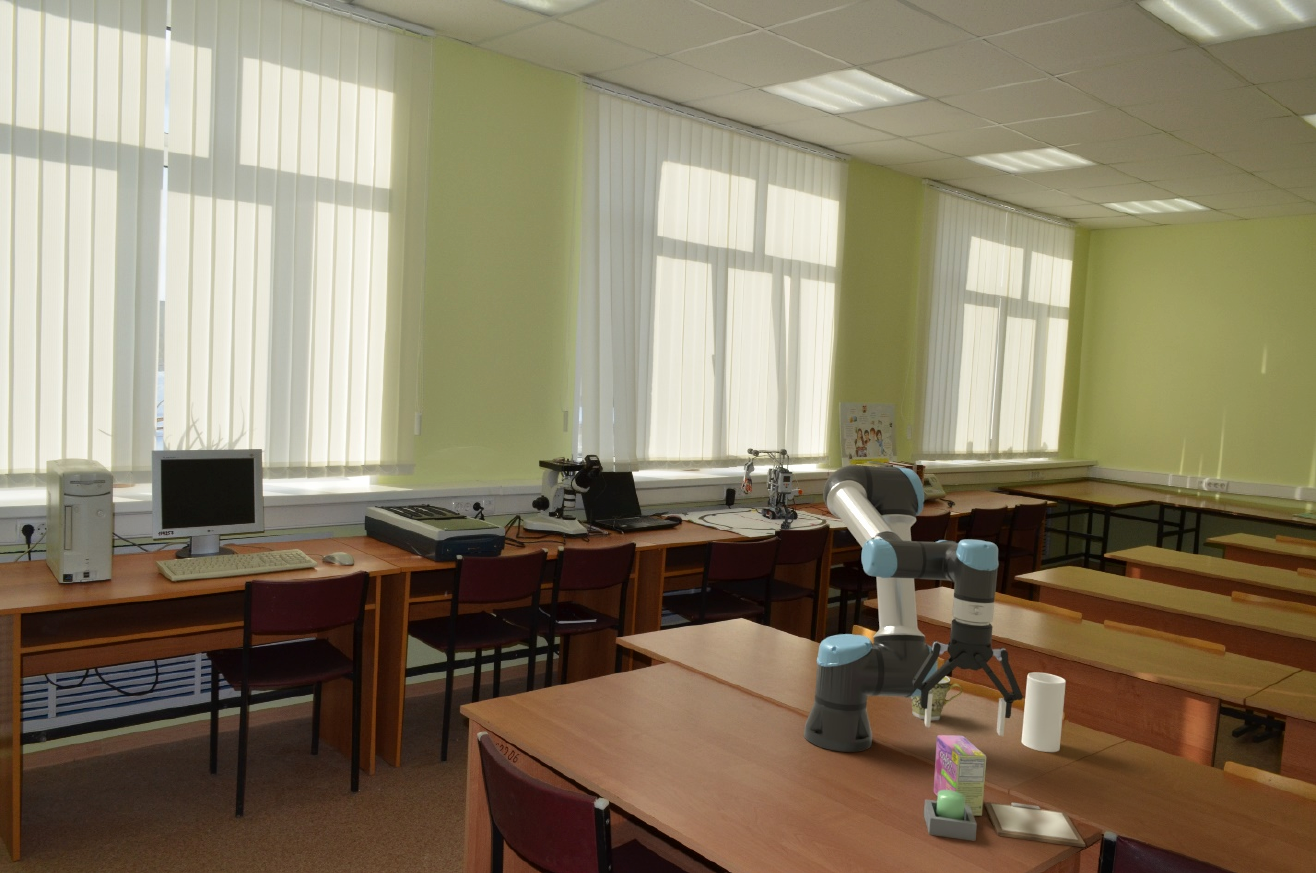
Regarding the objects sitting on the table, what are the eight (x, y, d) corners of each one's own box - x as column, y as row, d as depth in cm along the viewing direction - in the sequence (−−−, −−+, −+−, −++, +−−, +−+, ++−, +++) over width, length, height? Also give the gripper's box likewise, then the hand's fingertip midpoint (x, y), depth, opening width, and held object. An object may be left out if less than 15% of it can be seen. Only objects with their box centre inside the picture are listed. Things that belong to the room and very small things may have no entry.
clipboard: (997, 835, 167) (998, 829, 167) (984, 804, 180) (984, 799, 180) (1085, 847, 165) (1085, 841, 165) (1065, 815, 178) (1065, 809, 178)
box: (931, 792, 184) (936, 734, 184) (959, 793, 185) (964, 735, 184) (952, 816, 174) (958, 755, 173) (982, 817, 174) (987, 756, 174)
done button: (937, 823, 167) (939, 799, 167) (934, 812, 172) (936, 788, 171) (965, 827, 166) (967, 803, 166) (960, 815, 171) (963, 791, 171)
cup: (1063, 754, 210) (1069, 685, 209) (1025, 749, 212) (1031, 680, 211) (1055, 741, 218) (1061, 675, 217) (1018, 736, 220) (1024, 670, 219)
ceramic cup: (903, 718, 227) (906, 678, 227) (908, 706, 236) (911, 668, 236) (958, 728, 222) (961, 687, 222) (961, 716, 232) (964, 677, 231)
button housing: (929, 834, 166) (930, 818, 166) (923, 814, 174) (925, 799, 173) (975, 841, 164) (976, 824, 164) (967, 820, 172) (969, 805, 172)
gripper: (907, 618, 176) (899, 728, 177) (1045, 632, 172) (1035, 744, 173) (903, 610, 183) (895, 715, 184) (1035, 623, 179) (1026, 730, 180)
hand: (963, 729), depth 178 cm, fingers open, 13 cm apart
